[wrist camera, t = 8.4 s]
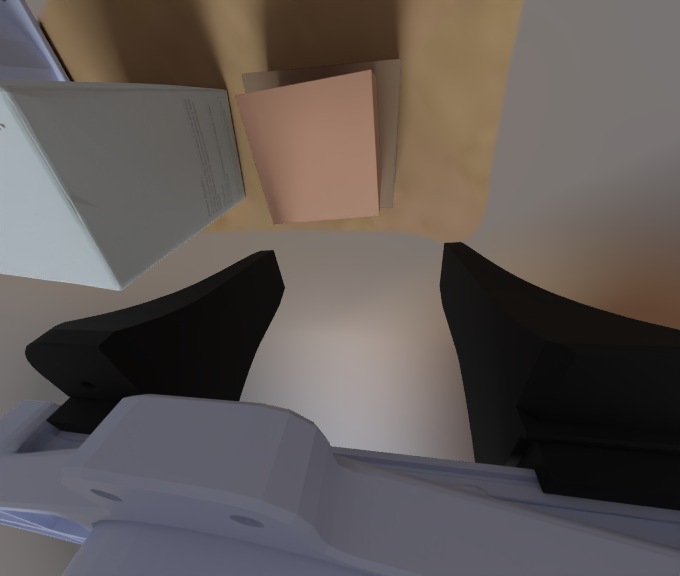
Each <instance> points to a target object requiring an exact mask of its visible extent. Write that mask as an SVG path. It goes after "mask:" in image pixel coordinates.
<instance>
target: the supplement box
mask: <svg viewBox="0 0 680 576" xmlns="http://www.w3.org/2000/svg"><path fill="white" fill-rule="evenodd" d="M244 198H245V192H244V187H243V181H242V175H241V169H240V164H239V158H238V153H237V147H236V141H235V136H234V130H233V124H232V119H231V113H230V108H229V102H228V96H227V91H226V90H223V89H213V88H201V87H190V86H178V85H164V84H143V83H102V82H70V81H38V80H0V273H1V274H8V275H15V276H22V277H29V278H37V279H43V280H51V281H59V282H67V283H74V284H81V285H87V286H93V287H99V288H105V289H112V290H118V291H121V290H123V289H124V288H125V287H127V286H128V285H129V284H131V283H132V282H133V281H134V280H135V279H137V278H138V277H139V276H140V275H142V274H143V273H144V272H146V271H147V270H148V269H150V268H151V267H152V266H153V265H155V264H156V263H158V262H159V261H161V260H162V259H163V258H165V257H166V256H167V255H169V254H170V253H171V252H173V251H174V250H175V249H177V248H178V247H180V246H181V245H182V244H184V243H185V242H186V241H188V240H189V239H190V238H192V237H193V236H195V235H196V234H197V233H199V232H200V231H201V230H203V229H204V228H206V227H207V226H208V225H210V224H211V223H212V222H214V221H215V220H216V219H218V218H219V217H220V216H222V215H223V214H225V213H226V212H227V211H228V210H230V209H231V208H232V207H234V206H235V205H236V204H238V203H239V202H240V201H242V200H243V199H244Z"/></svg>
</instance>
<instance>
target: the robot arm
mask: <svg viewBox="0 0 680 576" xmlns="http://www.w3.org/2000/svg"><path fill="white" fill-rule="evenodd" d="M0 80H38V81H70V80H69V78H68V76H67V74H66V73H65V71H64V69H63V67H62V66H61V64H60V62H59V60H58V59H57V57H56V55H55V53H54V52H53V50H52V48H51V46H50V44H49V43H48V41H47V39H46V37H45V36H44V34H43V32H42V30H41V29H40V27H39V25H38V23H37V22H36V20H35V18H34V16H33V15H32V13H31V11H30V9H29V8H28V6H27V4H26V2H25V0H0ZM284 289H285V286H284V283H283V280H282V276H281V273H280V270H279V266H278V263H277V260H276V257H275V253H274V250H270V251H269V250H268V251H259V252H256V253H255V254H252V255H250V256H248V257H246V258H244V259H242V260H240V261H238V262H237V263H235V264H233V265H231V266H229V267H227V268H226V269H224V270H222V271H220V272H218V273H216V274H214V275H212V276H210V277H208V278H206V279H204V280H202V281H200V282H198V283H196V284H194V285H191V286H189V287H187V288H184V289H182V290H180V291H177V292H175V293H172V294H169V295H166V296H163V297H160V298H158V299H155V300H152V301H149V302H146V303H143V304H139V305H136V306H132V307H129V308H126V309H122V310H118V311H114V312H110V313H106V314H102V315H97V316H92V317H88V318H83V319H78V320H74V321H69V322H64V323H62V324H59V325H57V326H55V327H53V328H52V329H50V330H49V331H47V332H46V333H45V334H43V335H42V336H40V337H39V338H37V339H36V340H34V341H33V342H32V343H30V344H29V345H27V346H26V350H25V355H26V358H27V360H28V362H30V364H31V365H32V366H33V367H34V368H35V369H36V370H37V371H38V372H39V373H40V374H41V375H43V376H44V377H45V378H46V379H48V380H49V381H50V382H51V383H53V384H54V385H55V386H56V387H58V388H59V389H60V390H61V391H63V392H64V393H65V394H66V395H68V396H69V397H70V398H69V399H68V400H67V401H66V402H65V403H64V404H63V405H62V406H60V405H58V404H56V403H52V402H47V401H36V400H22V401H21V402H20V403H19V404H18V405H16V406H15V407H14V408H13V409H12V410H10V411H9V412H8V413H7V414H6V415H4V416H3V417H2V418H1V419H0V524H3V525H8V526H12V527H16V528H20V529H24V530H28V531H33V532H36V533H40V534H44V535H48V536H52V537H56V538H59V539H63V540H67V541H71V542H75V543H79V544H82V546H81V548H80V549H79V550H78V552H77V553H76V555H75V556H74V558H73V559H72V560H71V562H70V563H69V565H68V566H67V568H66V569H65V571H64V572H63V574H62V575H61V576H680V330H678V329H673V328H669V327H665V326H660V325H656V324H652V323H648V322H643V321H639V320H635V319H631V318H627V317H624V316H621V315H617V314H614V313H610V312H607V311H603V310H600V309H597V308H594V307H590V306H587V305H584V304H581V303H578V302H576V301H573V300H570V299H567V298H565V297H562V296H559V295H556V294H554V293H551V292H549V291H547V290H544V289H542V288H540V287H537V286H535V285H533V284H531V283H529V282H527V281H524V280H523V279H520V278H518V277H517V276H515V275H513V274H511V273H509V272H508V271H506V270H504V269H502V268H501V267H499V266H497V265H496V264H494V263H493V262H491V261H489V260H488V259H486V258H485V257H483V256H482V255H480V254H479V253H477V252H476V251H474V250H473V249H471V248H470V247H468V246H467V245H465V244H464V243H462V242H455V243H444V251H443V260H442V270H441V279H440V292H441V299H442V304H443V309H444V312H445V316H446V319H447V322H448V325H449V329H450V331H451V335H452V338H453V341H454V345H455V348H456V351H457V355H458V359H459V363H460V369H461V374H462V380H463V385H464V391H465V397H466V403H467V409H468V415H469V422H470V429H471V435H472V442H473V450H474V457H475V463H473V462H464V461H454V460H446V459H437V458H428V457H420V456H411V455H402V454H393V453H384V452H376V451H367V450H358V449H350V448H341V447H332V446H330V444H329V442H328V440H327V439H326V437H325V436H324V435H323V433H322V432H321V431H320V430H319V428H318V427H317V426H316V425H315V424H314V422H312V421H310V420H308V419H306V418H304V417H303V416H301V415H299V414H297V413H295V412H293V411H291V410H289V409H285V408H280V407H276V406H271V405H267V404H262V403H252V402H240V401H239V400H240V396H241V393H242V390H243V387H244V384H245V381H246V378H247V375H248V372H249V369H250V366H251V364H252V361H253V359H254V356H255V353H256V351H257V349H258V347H259V344H260V342H261V340H262V338H263V337H264V335H265V333H266V331H267V329H268V327H269V325H270V323H271V321H272V319H273V317H274V315H275V313H276V311H277V309H278V307H279V305H280V302H281V299H282V296H283V292H284Z"/></svg>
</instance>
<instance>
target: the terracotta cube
mask: <svg viewBox="0 0 680 576" xmlns="http://www.w3.org/2000/svg"><path fill="white" fill-rule="evenodd" d="M235 97H236V101H237V104H238V107H239V111H240V114H241V117H242V121H243V124H244V127H245V131H246V134H247V137H248V141H249V144H250V148H251V151H252V154H253V158H254V161H255V164H256V168H257V171H258V174H259V178H260V181H261V184H262V188H263V191H264V194H265V198H266V201H267V204H268V208H269V211H270V214H271V218H272V221H273V224H283V223H295V222H307V221H319V220H331V219H343V218H355V217H368V216H379V211H380V195H381V170H380V149H379V128H378V107H377V85H376V76H375V75H374V73H373V72H372V70H366V71H361V72H356V73H351V74H346V75H340V76H335V77H330V78H325V79H320V80H314V81H309V82H304V83H299V84H293V85H288V86H283V87H278V88H273V89H267V90H262V91H257V92H252V93H247V94H241V95H236V96H235Z"/></svg>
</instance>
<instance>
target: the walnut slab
mask: <svg viewBox="0 0 680 576" xmlns="http://www.w3.org/2000/svg"><path fill="white" fill-rule="evenodd" d="M366 70H372V72H373V73H374V75H375V76H376V85H377V107H378V128H379V149H380V170H381V195H380V208H393V196H394V179H395V161H396V144H397V127H398V110H399V93H400V76H401V59H392V60H382V61H371V62H361V63H350V64H340V65H330V66H319V67H309V68H298V69H288V70H277V71H267V72H256V73H246V74H242V78H243V83H244V88H245V92H246V94H247V93H252V92H257V91H262V90H267V89H273V88H278V87H283V86H288V85H293V84H299V83H304V82H309V81H314V80H320V79H325V78H330V77H335V76H340V75H346V74H351V73H356V72H361V71H366Z"/></svg>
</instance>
